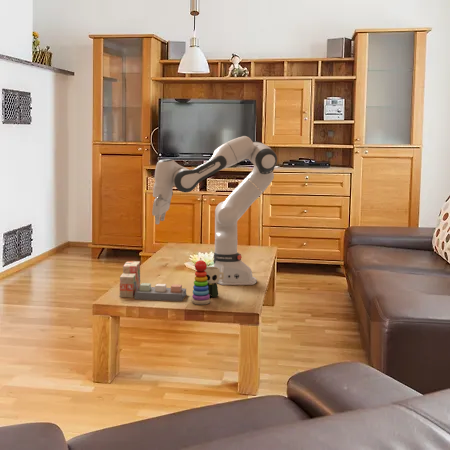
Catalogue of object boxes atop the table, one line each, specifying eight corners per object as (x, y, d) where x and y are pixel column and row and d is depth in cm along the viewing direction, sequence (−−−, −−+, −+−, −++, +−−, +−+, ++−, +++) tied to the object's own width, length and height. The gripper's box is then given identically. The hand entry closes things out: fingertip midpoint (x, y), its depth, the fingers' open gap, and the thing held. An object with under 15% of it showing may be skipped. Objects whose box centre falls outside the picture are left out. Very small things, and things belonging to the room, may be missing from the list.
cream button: (166, 290, 302) (166, 284, 302) (164, 292, 298) (164, 286, 297) (157, 290, 302) (157, 283, 302) (155, 292, 298) (155, 285, 298)
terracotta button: (181, 291, 301) (181, 284, 301) (180, 293, 297) (180, 286, 297) (172, 290, 302) (172, 284, 301) (170, 293, 298) (170, 286, 297)
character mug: (198, 298, 300) (198, 269, 298) (199, 294, 307) (200, 266, 305) (223, 298, 299) (223, 270, 298) (223, 294, 307) (224, 266, 305)
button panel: (186, 295, 305) (186, 288, 304) (181, 301, 294) (182, 294, 294) (140, 293, 307) (140, 286, 307) (134, 299, 296) (134, 292, 296)
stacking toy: (191, 300, 295) (191, 258, 293) (209, 300, 296) (210, 258, 293) (191, 305, 287) (192, 262, 285) (210, 305, 288) (211, 262, 285)
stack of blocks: (133, 297, 299) (133, 270, 297) (119, 297, 299) (119, 270, 298) (140, 286, 320) (140, 260, 319) (127, 286, 320) (127, 260, 319)
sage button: (150, 289, 303) (150, 283, 302) (148, 292, 299) (148, 285, 298) (141, 289, 303) (141, 283, 303) (139, 291, 299) (139, 285, 299)
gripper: (163, 197, 305) (161, 227, 308) (173, 191, 325) (170, 219, 328) (150, 195, 306) (147, 225, 309) (161, 189, 326) (158, 217, 329)
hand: (159, 222), depth 318 cm, fingers open, 8 cm apart
